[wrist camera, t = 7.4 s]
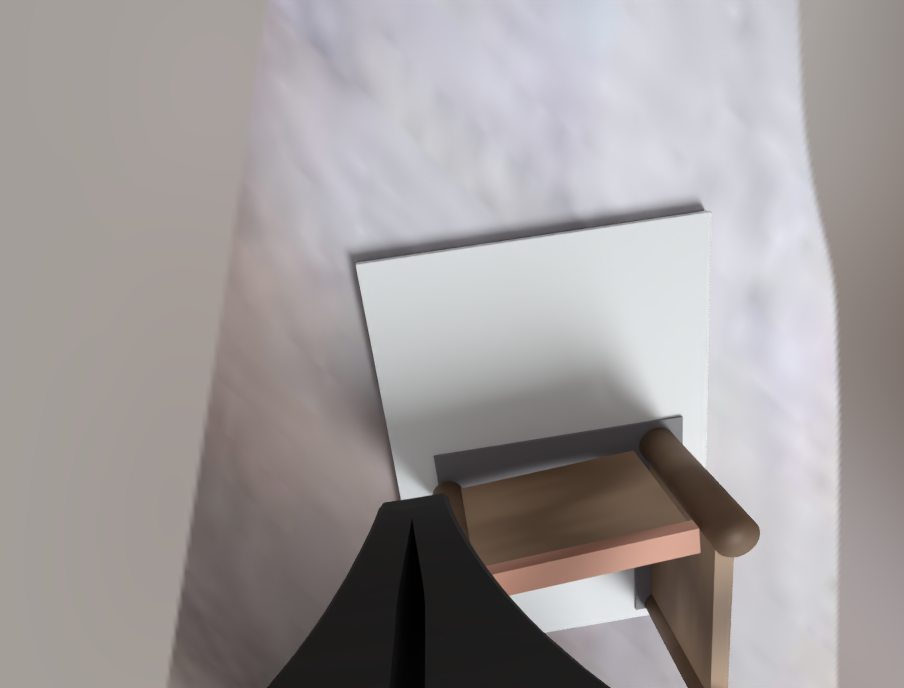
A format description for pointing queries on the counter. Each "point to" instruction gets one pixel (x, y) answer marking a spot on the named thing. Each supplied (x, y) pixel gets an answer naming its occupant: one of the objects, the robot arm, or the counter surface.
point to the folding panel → (571, 522)
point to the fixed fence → (696, 564)
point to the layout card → (544, 366)
